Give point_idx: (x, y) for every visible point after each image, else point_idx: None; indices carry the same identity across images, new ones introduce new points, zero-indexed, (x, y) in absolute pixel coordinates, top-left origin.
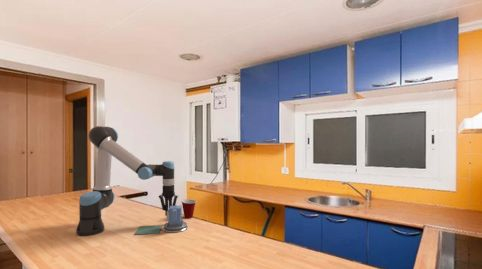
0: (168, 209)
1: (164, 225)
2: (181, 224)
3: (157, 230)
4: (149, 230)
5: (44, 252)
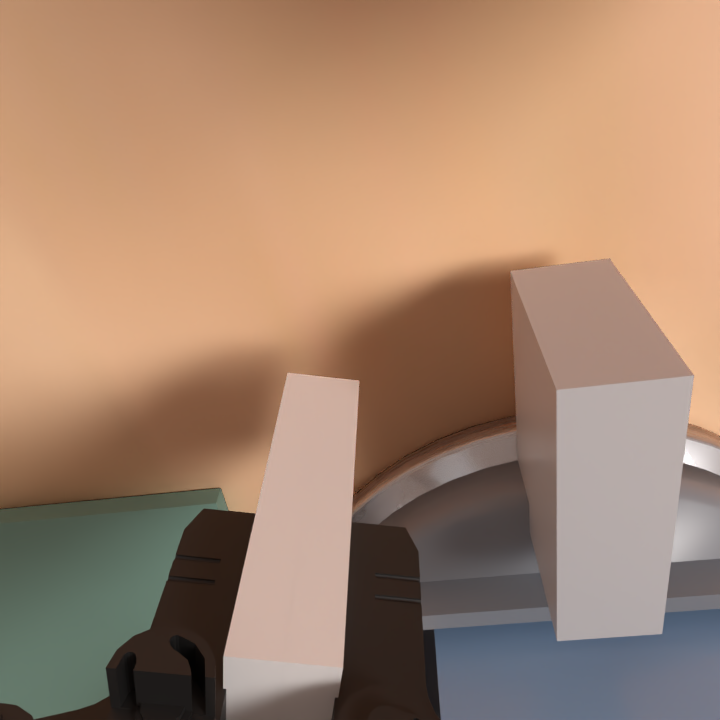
0: (212, 659)
1: None
2: None
3: None
4: None
5: None
